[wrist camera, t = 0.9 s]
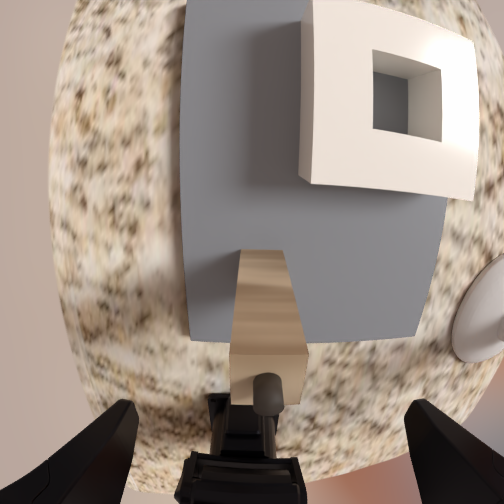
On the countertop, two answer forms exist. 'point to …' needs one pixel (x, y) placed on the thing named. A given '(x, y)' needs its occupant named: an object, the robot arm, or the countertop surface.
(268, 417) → the robot arm
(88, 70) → the countertop surface
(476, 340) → the candlestick
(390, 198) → the board
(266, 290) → the peg
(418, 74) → the holder
